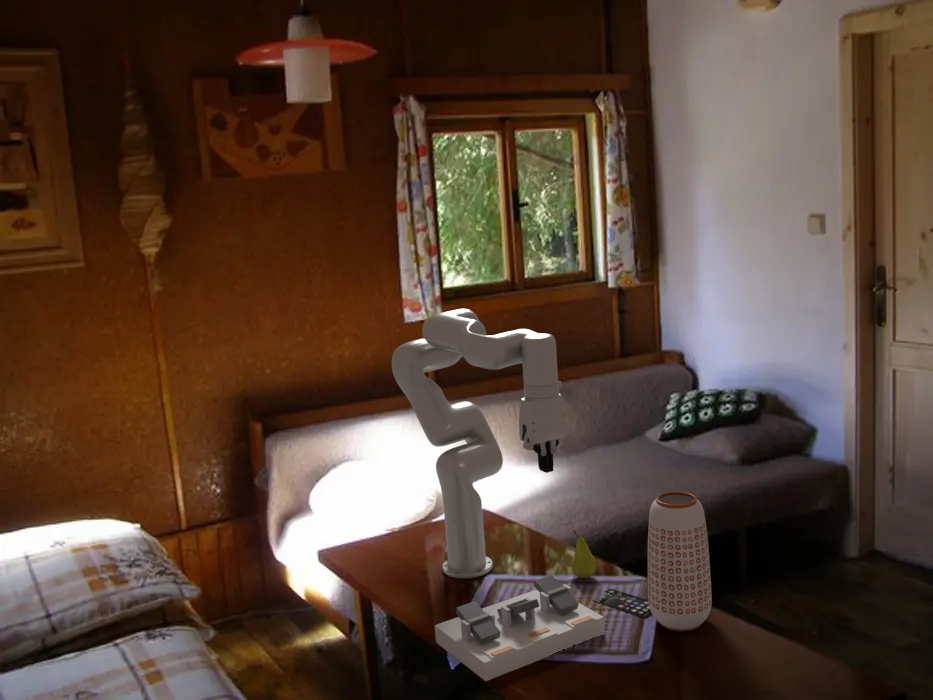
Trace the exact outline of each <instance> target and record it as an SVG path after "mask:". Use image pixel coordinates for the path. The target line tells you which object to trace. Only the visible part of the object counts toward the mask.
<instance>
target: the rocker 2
mask: <svg viewBox="0 0 933 700" xmlns="http://www.w3.org/2000/svg"><path fill="white" fill-rule="evenodd" d="M506 607H507V608H509V609H511V615H514V614H520V613H523V612H526V611H529V610H532V609H534V608H537V607H539V603H538V600H537V599H535V600H530V601H526V599H523V600H520V601H517V602H514V603H512V604H509V605H506ZM497 612H498V615H499V617H502V612H501V608H500V609H497Z"/></svg>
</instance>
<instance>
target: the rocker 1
mask: <svg viewBox="0 0 933 700" xmlns="http://www.w3.org/2000/svg"><path fill="white" fill-rule="evenodd" d="M455 614H456V616H457V617H459V618H460V619H461V620H465V621H467V622H468V623H469V624H470V631H471V633H472V634H473V635H474V637H475V638H476V639H477V640H478V642H479V643H480V644H484V643H487V642H489V641H492V640H495V639H497V638H500V633H501V632H500V630H499V629H498V628H497V627H496V626H495V624H494V623H493V622H492V621H491V620H490V618H489V615H488V614H487V613H486V614H485V612H484V611H483V610H482V607H480V605H479V604H478V603H477V601H475V600H474V601H471V602H468V603H465V604H462V605H460V606H456V610H455Z"/></svg>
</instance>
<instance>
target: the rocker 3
mask: <svg viewBox="0 0 933 700" xmlns="http://www.w3.org/2000/svg"><path fill="white" fill-rule="evenodd" d="M562 585H563V584H561V582H559V581H558V580H557V579H556V578H555V577H554V575H553V574H550V575H547V576H545V577H541V578H539V579H535V580H534V583H533V587H534V588H535V590H538V591H539V592H540V593H541V592H544V593H546V594H547V595H549V601H550V604H551V606H552V607H553V608H554V609H555V610H556V611H557V612H558V613H559V614H560V615H562V614H565V613H567V612H570V611H573V610H575V609H578V604H579V603H580V602H579V601H577V600H576V599H575V597H573V595H572V596H571V595H570V593H569V592H568V591H567V590H566V587H565V586H562Z"/></svg>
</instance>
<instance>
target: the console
mask: <svg viewBox="0 0 933 700" xmlns="http://www.w3.org/2000/svg"><path fill="white" fill-rule="evenodd" d="M561 585H562V586H565V587H566V590H567V591H568V592H569V593H570V595H571V596H572V597H573V592H572V591H573V589H572V587H571V586H569V585H567V584H566V583H565V584H564V583H563V584H561ZM523 599H526V601H530V600H535V599H537V600H538V603H539V607H537V608H534V609H532V610H529V611H526V612H523V613H520V614H514V615H511V609H509V608H507V607H506V605H509V604H512V603H514V602H517V601H520V600H523ZM578 603H579V604H578V609H575V610H573V611H570V612H567V613H565V614H562V615H560V614H559V613H558V612H557V611H556V610H555V609H554V608H553V607H552V606H551V604H550V601H549V595H547V594H546V593H544V592H541V593H540V592H539V591H538V590H537V589H534V590H531V591H528V592H525V593H523V594H520V595H517V596H514V597H511V598H509V599H506V600H503V601H500V602H498V603H497V602H496V603H494V604H491V605H489V606H485V607H481V609H482V610H483V611H484V612H485V614H486V613H487V614H488V615H489V618H490V620H491V621H492V622H493V623H494V624H495V626H496V627H497V628H498V629H499V630H500V632H501V633H500V638H497V639H495V640H492V641H489V642H487V643H484V644H480V643H479V642H478V640H477V639H476V638H475V637H474V635H473V634H472V633H471V631H470V624H469V623H468V622H467V621H465V620H461V619H460V618H459V617H458V616H457V617H454V618H452V619H449V620H446V621H443V622H440V623H438V624H434V633H435V642H436V644H438V645H439V647H442V649H444V650H445V651H446V652H448V653H449V654H451V656H453V658H455V659H457V660H458V662H461V663H462V665H464V666H466V668H468V669H469V670H471V672H473V673H474V674H476V675H477V676H478V677H479V678H480V679H482V680H483V681H484V682H488V681H490V680H493V679H495V678H498V677H500V676H502V675H505V674H508V673H511V672H513V671H515V670H518V669H520V668H523V667H525V666H529V665H530V664H533V663H535V662H538V661H541V660H544V659H545V658H546V659H547V658H548V657H550V655H551V656H553V655H552V654H554V653H556V652H558V651H561V650H563V649H566V648H568V647H569V646H572V645H574V644H576V643H579V642H582V641H584V640H587V639H591V638H593V637H596V636H599V637H601V636H600V635H602V636H604V635H606V633H605V617H604V616H603V615H601V614H599V613H598V612H596V611H594V610H592V609H591V608H589V607H587V606H585V605H583V604H582V603H580V602H578ZM500 608H501V612H502V617H499V615H498V612H497V609H500ZM603 634H604V635H603ZM566 650H567V649H566ZM561 652H562V651H561ZM556 654H557V653H556ZM554 655H555V654H554Z"/></svg>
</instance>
